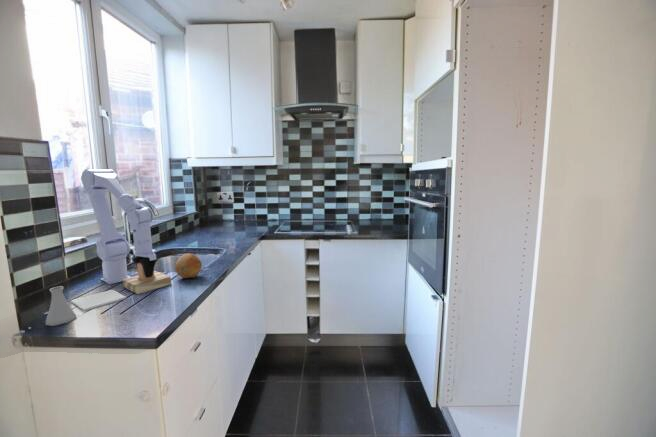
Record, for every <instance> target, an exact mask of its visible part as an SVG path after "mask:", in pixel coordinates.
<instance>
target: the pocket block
mask: <svg viewBox="0 0 656 437" xmlns="http://www.w3.org/2000/svg"><path fill="white" fill-rule="evenodd" d="M154 276H155V278H153V279H149V280H145V281H141V280H139V277H138V275H135V276H130V278H126V279H122V280H123V281H122V287H123V288H124V289H127V290H128V291H130V292H133V293H134V294H137V295H140V294H143V293H146V292H150V291H152V290H153V291H154V290H157V289H159V288H162V287H167V286H169V285H172V280H171V279H172V278H171V276H169V275H167V274H165V273H163V272H159V271H157V270H154Z"/></svg>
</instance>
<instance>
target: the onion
mask: <svg viewBox="0 0 656 437" xmlns="http://www.w3.org/2000/svg"><path fill="white" fill-rule="evenodd" d="M174 266H175V267H174V268H175V272H176V274H177V275H178V276H179V277H181V278H182V279H193V278H196V277H197V276H198V275H199V274H200V272H201V270H202V262H201V260H200V258H199V257H198V255H196V254H194V253H183V254H181V255H180V257H179V258H178V259H177V260H176V263H175V265H174Z"/></svg>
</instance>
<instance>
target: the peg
mask: <svg viewBox="0 0 656 437" xmlns="http://www.w3.org/2000/svg"><path fill="white" fill-rule="evenodd" d="M136 267H137V276H138V277H139V280H141V281H145V280H149V279H153V278H155V276H154V271H155V270H154V271H153V276H152V277H148V278H146V276H145V273H144V269H143V266H142V264H141V263H137V266H136Z"/></svg>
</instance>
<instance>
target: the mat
mask: <svg viewBox="0 0 656 437" xmlns="http://www.w3.org/2000/svg"><path fill="white" fill-rule="evenodd" d="M126 299H127V296H125V295H124V294H121V293H120V292H118V291H116V290H114V289H108V290H105V291H100V292H98V293H93V294H90V295H86V296H82V297H79V298H75V299H72V300H71V301H70V302H71V303H72V304H74V306H76V307H77V308H79V309H80V310H81V311H83V312H86V311H89V310H93V309H96V308H99V307H102V306H106V305H109V304H112V303H116V302H119V301H123V300H126Z"/></svg>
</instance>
